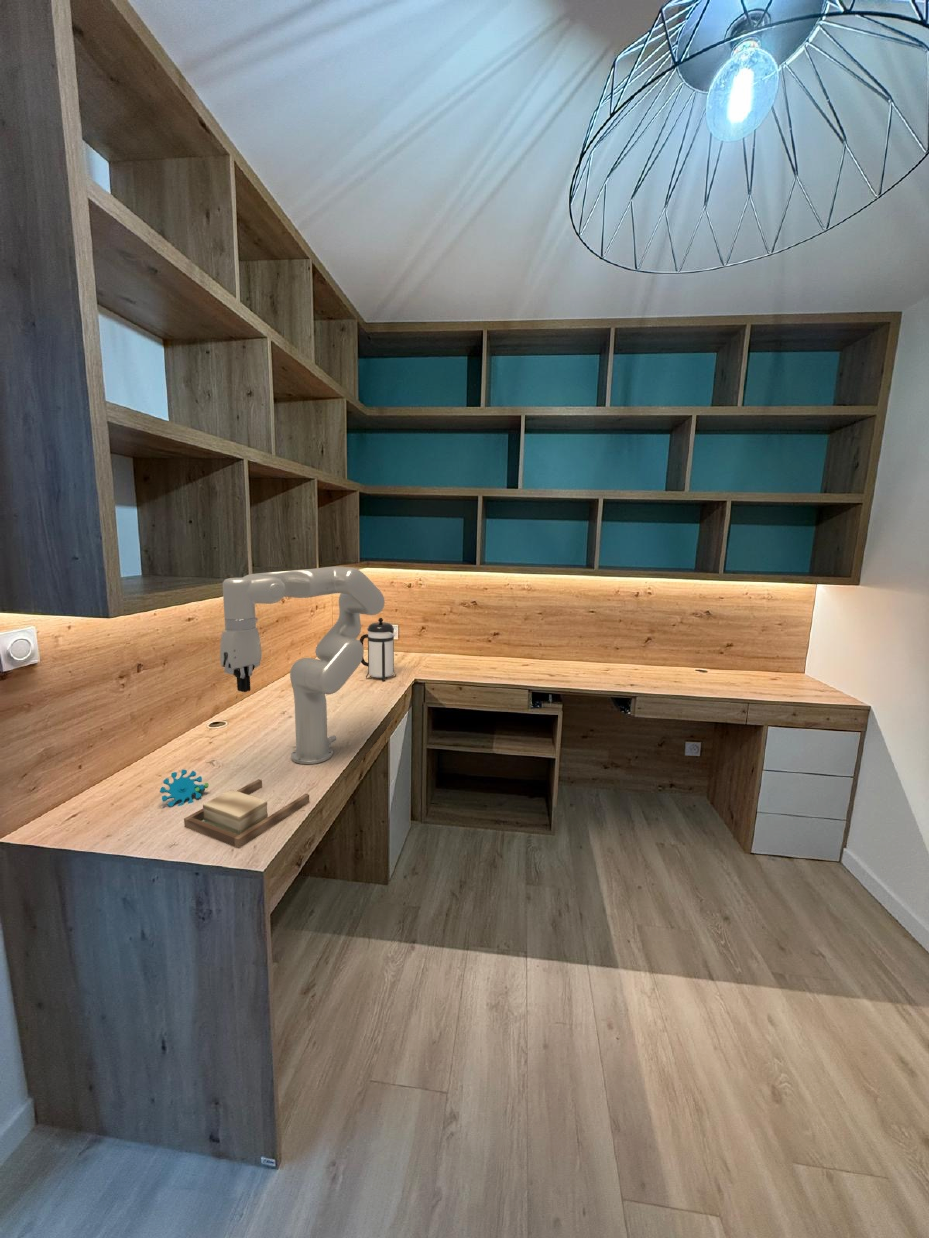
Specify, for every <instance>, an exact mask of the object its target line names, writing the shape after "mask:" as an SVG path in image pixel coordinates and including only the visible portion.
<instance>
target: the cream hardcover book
mask: <svg viewBox="0 0 929 1238" xmlns="http://www.w3.org/2000/svg"><path fill="white" fill-rule="evenodd" d="M202 809H204V822H206V823H208V824H211V825H214V826H216V827H219V828H221V829H224V830H227V831H229V832H232V833H235V834H237V835H240V834H242V833H243V832H245V831H246V830H248V829H250V828H251V827H253V826H254V825H256V824H258V823H259V822H261V821H262V820H264V819H266V818H267V817H269V816H268V815H269V814H268V800H264V799H262V798H259V797H256V796H253V795H251V794H249V795H247V794H244V793H241V792H238V791H237V790H235V789H230V790H228V791H226V792H224V793H223V794H220V795H218V796H217V797H214V798H213V799H211V800H208V801H206V802H205V803H203V804H202Z"/></svg>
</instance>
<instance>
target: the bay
mask: <svg viewBox="0 0 929 1238" xmlns="http://www.w3.org/2000/svg"><path fill="white" fill-rule="evenodd" d="M262 788H263V780H262V779H260V778H258V779H256V780H254V781H252V782H251V783H249V784H247V785H245V786H243V787H241V788H239V789H237V790H236V791H238V792H241V793H244V794H247V795H251V794H253V793H255V792H257V791H258V790H261V789H262ZM309 803H310V794H308V793H305V794H302V795H301V796H299V797H298V798H296V799H295V800H293V801H291V802H290V803H288V804H286V805H285V806H284V807H282V808H280V809H278V810H277V811H275V812H274V813H272V814H270V815H269V816H268V817H267V818H266V819H264V820H262V821H261V822H259V823H258V824H256V825H254V826H253V827H251V828H250V829H248V830H246V831H245V832H243V833H242V834H240V835H237V834H235V833H232V832H229V831H227V830H224V829H221V828H219V827H216V826H214V825H211V824H208V823H206V822H204V809H203V808H200V809H199V810H197V811H196V812H193V813H192V814H190V815H188V816H186V817H184V818H183V823H184V824H183V825H184V828H187V829H189V830H192V831H194V832H196V833H199V834H201V835H204V836H207V837H209V838H211V839H214V840H217V841H219V842H221V843H225V844H227V845H228V846H231V847H235V848H237V849H240V848H242V847H243V846H245V845H246V844H248V843H249V842H251V841H253V840H254V839H255V838H257V837H259V836H261V834H263V833H265V832H266V831H268V830H269V829H271V828H273V827H274V826H275V825H277V824H279V823H280V822H282V821H283V820H284V819H286V818H288V817H290V815H292V814H294V813H296V812H297V811H298V810H300V809H301V808H304V806H306V805H308V804H309Z"/></svg>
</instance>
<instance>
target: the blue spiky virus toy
mask: <svg viewBox="0 0 929 1238" xmlns="http://www.w3.org/2000/svg"><path fill="white" fill-rule="evenodd" d="M180 772H181V773H180V777H178V778H176V777H177V776H178V772H177V771H174V772H171V774H170V777H171V778H172V779H173V782H171V783H170V779H169V778H168V777H166V778H165V779H164V780H162V782H163V784H164V785H167V786H168V787H169V789H166V787H165V786H161V788H160V789H159V793H161V794H164V793H165V794H166V793H168V794H170V795H169V796H168V795H162V796H161V801H162V802H163V803H165V802H166V801H168V800H170V799H174V800H171V801H169V802H168V803H167V806H168V807H169V808H173V807H174V806H175V804H176V803H177V802H179V801H181V802H179V803H178V804H177V807H181V806H184V802H185V801H186V800H187V799H189V800H188V801H187V804H188V805H190V804H193V803H194V802H195V801H194V800H193V798H192V795H193V794H194V795H195V798H196V799H197V800H199V799H201V797H202V793H204V792H205V791H206V789H208V788H209V786H210V784H209V782H205V783H204V784H197V782H198V783H202V781H203V777H202V776H201V775H200V776H198V777H196V775H197V773H196V771H195V770H191V772H190V773H189V775H187V773H188V770H187V769H181V771H180ZM185 775H187V776H185ZM184 776H185V777H184ZM191 777H192V778H191ZM193 777H196V778H193ZM195 782H196V783H195Z"/></svg>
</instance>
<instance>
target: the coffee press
mask: <svg viewBox="0 0 929 1238" xmlns="http://www.w3.org/2000/svg"><path fill="white" fill-rule="evenodd" d="M377 621H378V622H372V623H370V624H369V625H368V628H366V629H367V633H368V634H367V633H366V634H363V635H361V636H360V638H359V641H360V642H361V643H362V645H363V646H364V640H365V639H367V661H366V660H365V658H364V657H363V658H362V661H361V663H360V664H362V665H363V666H365V667H367V668H368V669H367V670H368V671H367V674H366V676H365V678H366V680H369V679H370V678H376V679H379V678H380V679H381V682H386V678H389V677H391V676H392V678H396V677H397V674H396V673H395V661H394V660H395V651H394V650H395V646H394V639H395V638H394V636H395V634H396V633H395V628H394V626H393V625H392V623H390V622H385V621H384V618H382V617H379V618H378V620H377ZM394 674H395V675H394ZM368 676H369V677H368Z"/></svg>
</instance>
